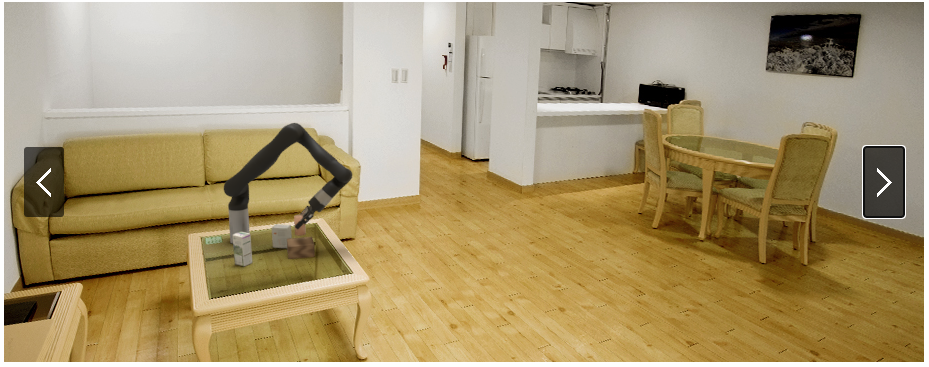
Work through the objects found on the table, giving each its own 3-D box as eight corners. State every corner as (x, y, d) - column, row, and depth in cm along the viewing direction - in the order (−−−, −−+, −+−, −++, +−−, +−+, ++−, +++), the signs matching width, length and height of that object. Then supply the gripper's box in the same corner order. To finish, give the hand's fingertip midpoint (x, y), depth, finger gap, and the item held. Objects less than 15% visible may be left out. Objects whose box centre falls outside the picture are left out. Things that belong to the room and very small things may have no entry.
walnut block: (288, 258, 289) (288, 246, 287) (287, 250, 300) (286, 238, 298) (314, 256, 293) (314, 244, 291) (312, 248, 304) (312, 236, 302)
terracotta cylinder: (295, 236, 291) (294, 217, 289) (294, 232, 295) (293, 215, 293) (306, 235, 292) (305, 217, 290) (305, 232, 297) (304, 214, 295)
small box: (292, 244, 308) (291, 224, 305) (288, 248, 303) (287, 228, 300) (276, 243, 309) (275, 223, 306) (272, 247, 303) (271, 227, 301)
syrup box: (252, 262, 283) (251, 232, 280) (243, 266, 278) (241, 236, 274) (243, 260, 285) (241, 230, 282) (234, 264, 280) (231, 234, 277)
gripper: (313, 191, 298) (288, 217, 297) (316, 199, 285) (290, 225, 284) (324, 201, 301) (300, 226, 300) (328, 209, 288) (302, 235, 287)
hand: (295, 226), depth 292 cm, fingers closed on terracotta cylinder, 5 cm apart
